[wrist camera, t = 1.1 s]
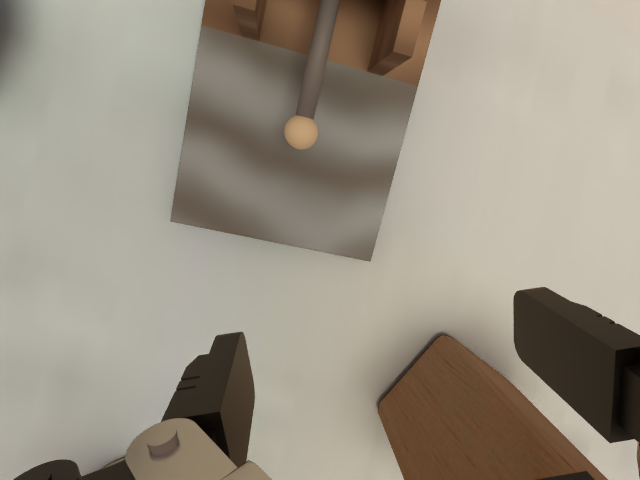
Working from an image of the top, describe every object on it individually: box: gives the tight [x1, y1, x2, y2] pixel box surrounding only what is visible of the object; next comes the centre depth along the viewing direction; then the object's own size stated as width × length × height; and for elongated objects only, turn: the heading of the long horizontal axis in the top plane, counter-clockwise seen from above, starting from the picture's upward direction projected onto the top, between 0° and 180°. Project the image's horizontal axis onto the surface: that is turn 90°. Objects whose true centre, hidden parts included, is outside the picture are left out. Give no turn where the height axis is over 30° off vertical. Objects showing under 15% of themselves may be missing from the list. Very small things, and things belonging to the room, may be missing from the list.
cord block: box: [284, 0, 340, 150], centre depth 25 cm, size 18×6×5 cm, turn 167°
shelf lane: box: [170, 0, 441, 261], centre depth 26 cm, size 26×16×9 cm, turn 167°
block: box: [378, 335, 608, 480], centre depth 28 cm, size 10×10×20 cm
